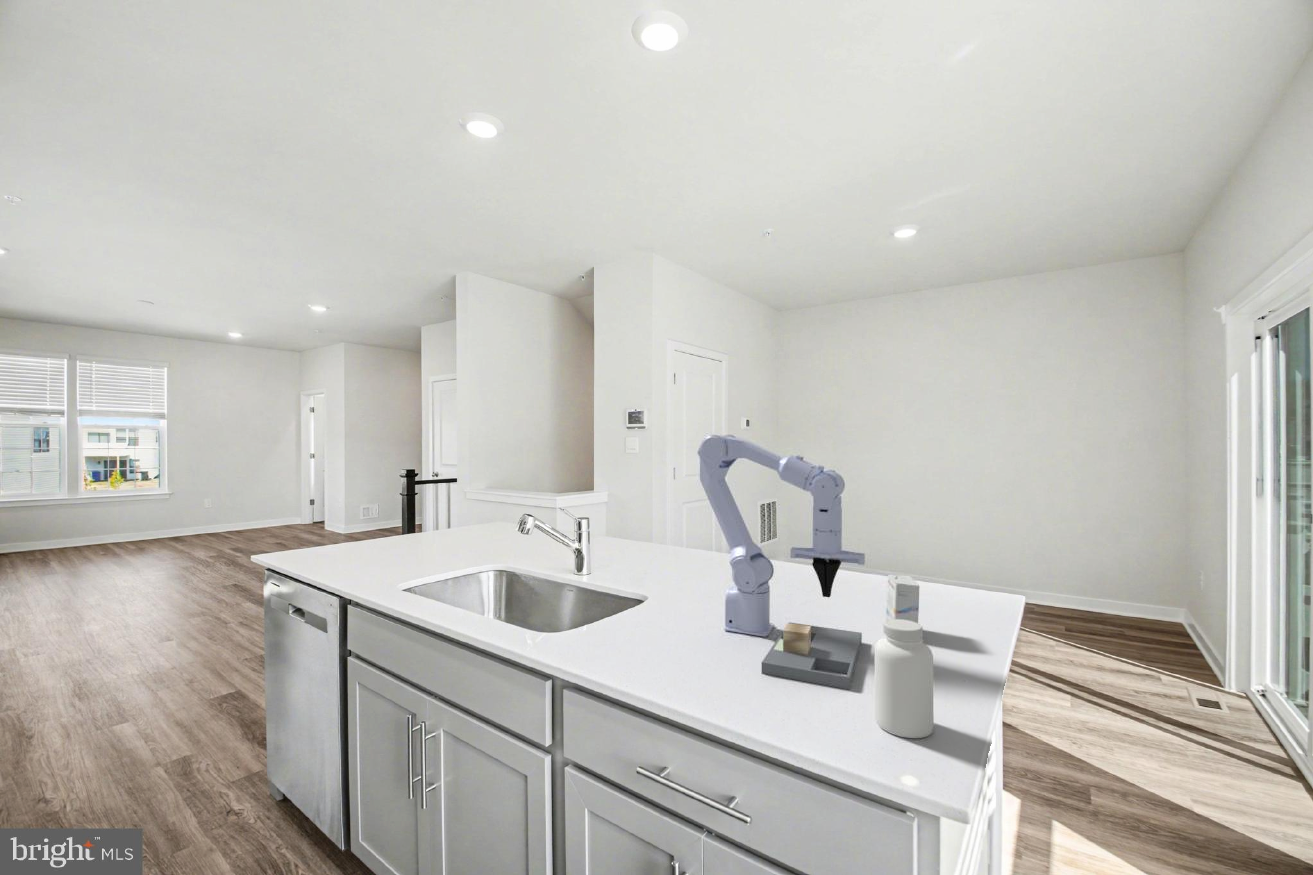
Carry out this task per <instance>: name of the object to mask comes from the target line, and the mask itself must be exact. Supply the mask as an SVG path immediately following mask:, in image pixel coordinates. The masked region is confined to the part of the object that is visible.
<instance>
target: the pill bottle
mask: <svg viewBox="0 0 1313 875" xmlns="http://www.w3.org/2000/svg"><path fill="white" fill-rule="evenodd" d="M923 636H924V631H923V626H922V625H921V624H920V623H919V622H918V623H916V622H913V621H908V620H901V619H891V620H887V621H886V620H885V621H884V622H883V637H882V638H880V639H879V640H878V641H877V642H876V644H875V646H874V718H875V719H874V720H875V722H876V724H877V726H879V727H880V729H882V730H883V731H885V732H887V733H890V734H891V735H895V736H897V737H902V738H906V739H923V738H925V737H928V736H930V735H931V734H932V732H933V730H934V655H933V652H932V650H931V648H930V647H929V646H928V645H927V644H926V643H924V637H923Z"/></svg>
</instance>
